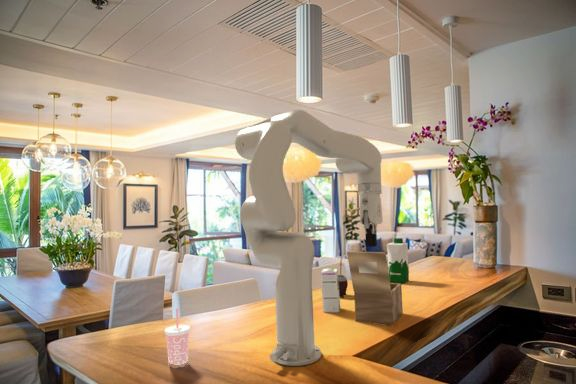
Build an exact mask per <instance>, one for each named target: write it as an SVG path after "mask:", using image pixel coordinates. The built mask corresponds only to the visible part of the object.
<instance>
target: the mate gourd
mask: <svg viewBox="0 0 576 384" xmlns="http://www.w3.org/2000/svg"><path fill="white" fill-rule="evenodd" d="M342 261H343V258H342V256H341V257H340V261H339V274H338V279H339V295H340V298H345V297H344V296H347V290H348V287H349V285H348V278H347V277H346V276H345V275H343V274H342V266H343V265H342Z"/></svg>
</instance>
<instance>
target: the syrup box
mask: <svg viewBox="0 0 576 384" xmlns="http://www.w3.org/2000/svg"><path fill="white" fill-rule="evenodd" d="M338 275H339V269H338V268H322V270H321V272H320V276H321V297H322V310H323V311H322V312H324V313H339V312H340V311H341V300H340V299H341V297H340V295H339V279H338Z"/></svg>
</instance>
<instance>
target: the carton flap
mask: <svg viewBox="0 0 576 384" xmlns="http://www.w3.org/2000/svg"><path fill="white" fill-rule="evenodd" d="M386 252H387V251H386ZM386 252H383V251H350V250H349V251H346V253H347V255H346V256H347V260H348V261H347V262H348V266H349V272H350V277H351V278H350V279H351V285H352V289H353V292H354V291H356V292H368V293H381V294H391V287H390V280H389V270H388V258H387V254H386Z"/></svg>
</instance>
